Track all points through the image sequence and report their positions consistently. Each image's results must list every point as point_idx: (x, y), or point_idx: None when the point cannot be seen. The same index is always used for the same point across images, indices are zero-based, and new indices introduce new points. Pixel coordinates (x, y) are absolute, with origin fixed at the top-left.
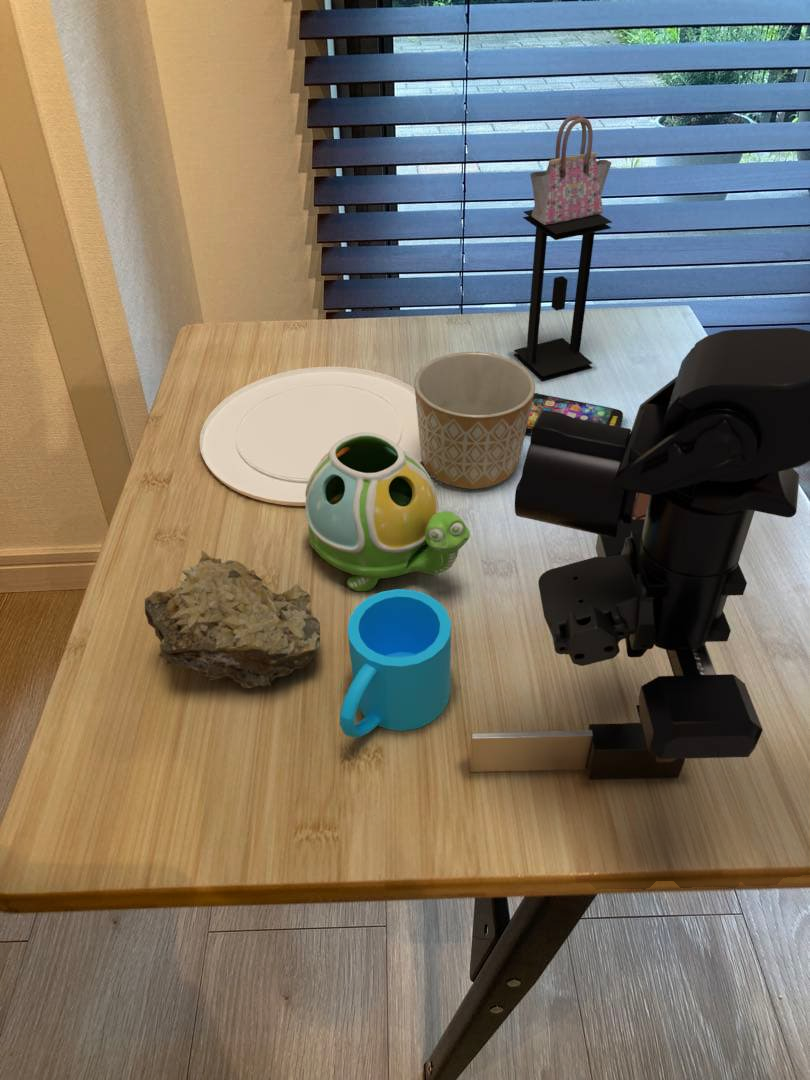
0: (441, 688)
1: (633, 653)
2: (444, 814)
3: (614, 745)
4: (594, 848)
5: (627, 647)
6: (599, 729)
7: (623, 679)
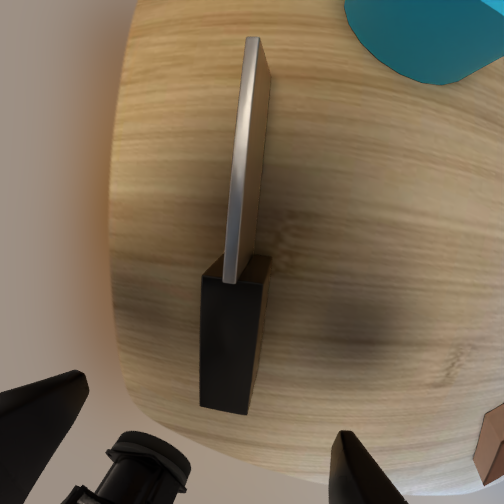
0: (392, 28)
1: (337, 445)
2: (199, 41)
3: (208, 312)
4: (131, 229)
5: (345, 451)
6: (246, 299)
7: (387, 350)
